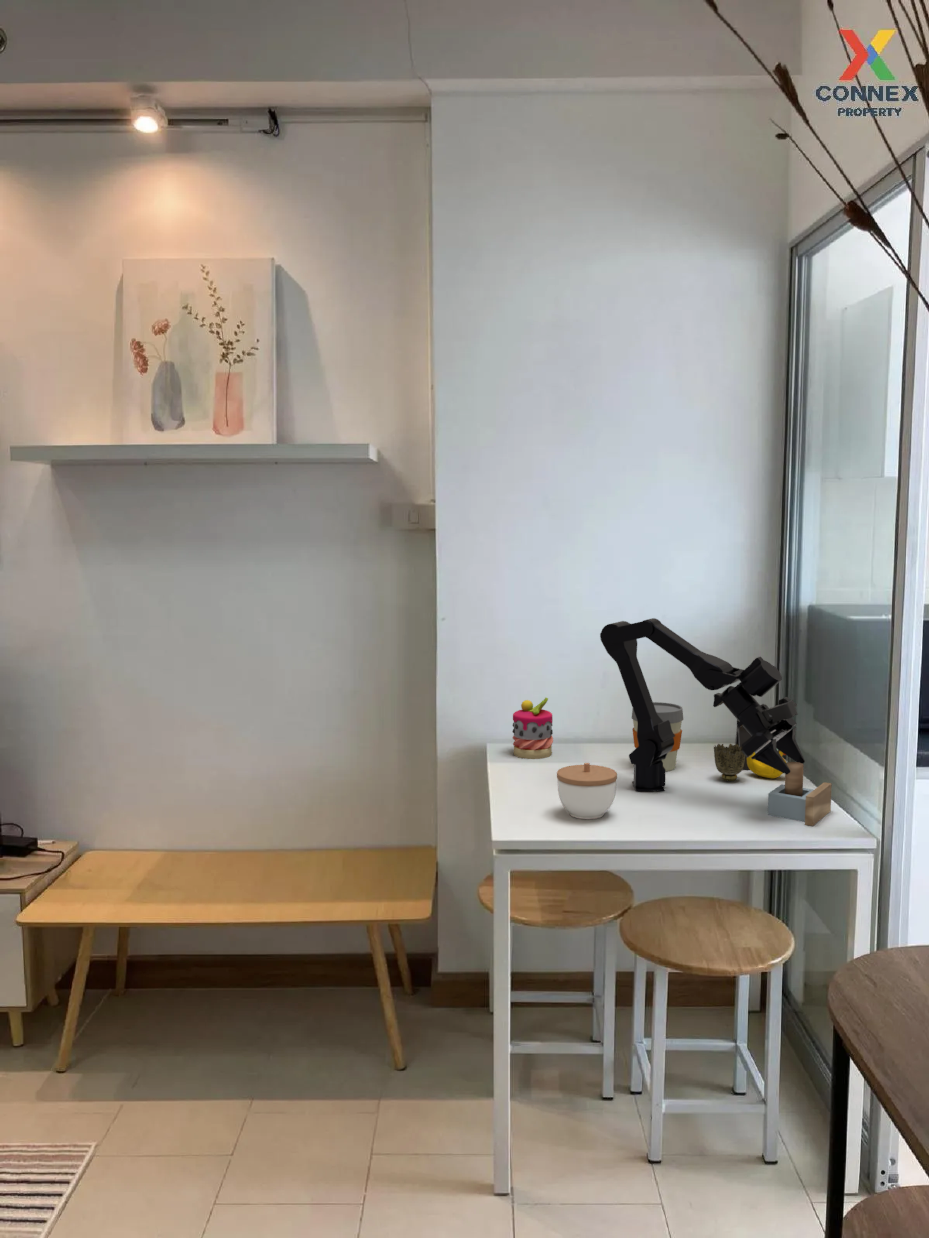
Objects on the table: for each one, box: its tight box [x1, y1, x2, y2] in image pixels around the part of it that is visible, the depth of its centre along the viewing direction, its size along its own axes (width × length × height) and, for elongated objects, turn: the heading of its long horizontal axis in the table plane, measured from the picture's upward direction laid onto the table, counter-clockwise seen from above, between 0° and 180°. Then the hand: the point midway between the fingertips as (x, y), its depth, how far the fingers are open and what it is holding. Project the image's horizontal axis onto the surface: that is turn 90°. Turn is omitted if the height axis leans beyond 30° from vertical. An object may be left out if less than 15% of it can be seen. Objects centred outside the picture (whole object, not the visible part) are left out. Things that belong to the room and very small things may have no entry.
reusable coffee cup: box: [631, 701, 684, 772], centre depth 253 cm, size 12×13×15 cm
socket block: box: [767, 783, 814, 823], centre depth 217 cm, size 8×8×5 cm
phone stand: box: [734, 719, 751, 771], centre depth 254 cm, size 9×6×12 cm, turn 176°
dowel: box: [784, 761, 804, 797], centre depth 216 cm, size 4×4×10 cm
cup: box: [713, 743, 745, 782], centre depth 242 cm, size 8×7×8 cm
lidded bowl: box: [556, 762, 618, 820], centre depth 217 cm, size 13×13×11 cm
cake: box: [512, 697, 554, 760], centre depth 267 cm, size 10×11×15 cm
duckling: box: [747, 748, 787, 779], centre depth 243 cm, size 11×5×10 cm, turn 57°
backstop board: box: [804, 781, 833, 827], centre depth 214 cm, size 2×12×6 cm, turn 144°
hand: (796, 768), depth 216 cm, fingers open, 9 cm apart
